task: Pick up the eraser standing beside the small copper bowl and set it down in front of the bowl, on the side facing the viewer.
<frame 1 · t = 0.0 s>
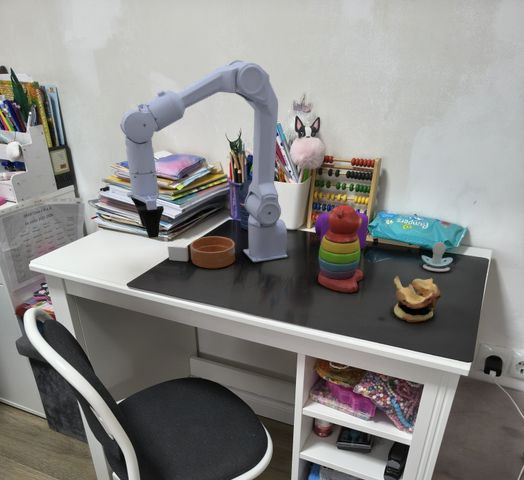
hand: (150, 231, 115), 10 cm above the table, tool pointing down, fingers open, 7 cm apart
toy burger: (411, 313, 104), on the table
bowl: (213, 261, 126), on the table
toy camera: (337, 247, 134), on the table
stacking bear: (338, 282, 117), on the table
eraser: (179, 260, 127), on the table
pacifier: (435, 268, 123), on the table
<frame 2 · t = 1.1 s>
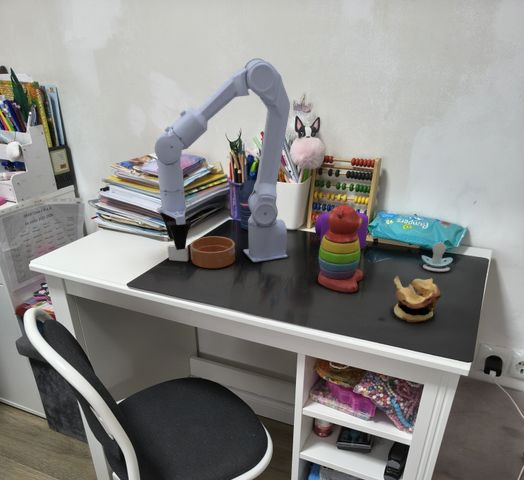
hand: (177, 243, 125), 4 cm above the table, tool pointing down, fingers open, 7 cm apart
nothing on the table moved.
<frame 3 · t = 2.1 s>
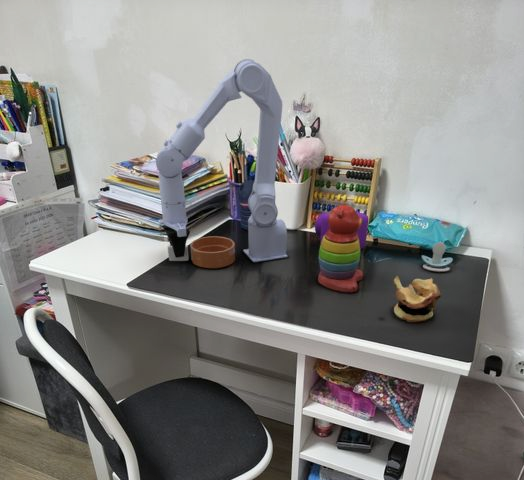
hand: (178, 254, 126), 1 cm above the table, tool pointing down, fingers closed on eraser, 2 cm apart
eraser: (179, 260, 127), on the table, touching gripper
everything else where it was.
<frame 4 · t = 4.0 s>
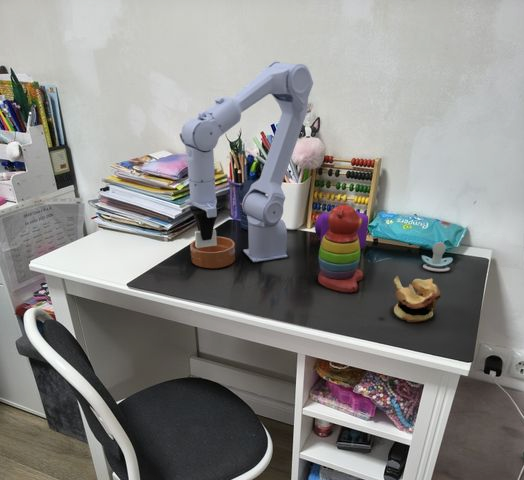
hand: (205, 238, 117), 8 cm above the table, tool pointing down, fingers closed on eraser
eraser: (206, 246, 118), point 6 cm above the table, touching gripper
everything else where it was.
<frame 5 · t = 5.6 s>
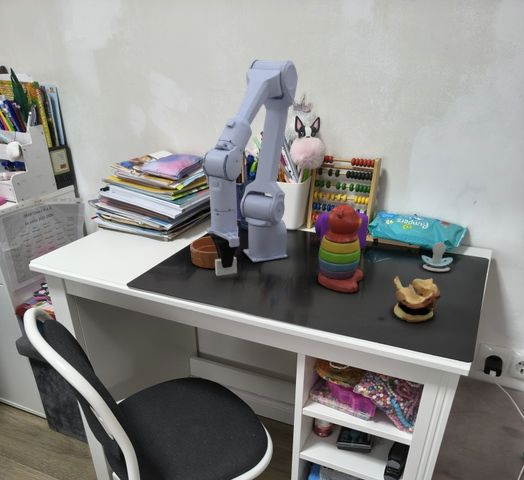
hand: (226, 265, 116), 3 cm above the table, tool pointing down, fingers closed on eraser, 1 cm apart
eraser: (226, 274, 117), point 1 cm above the table, touching gripper
everything else where it was.
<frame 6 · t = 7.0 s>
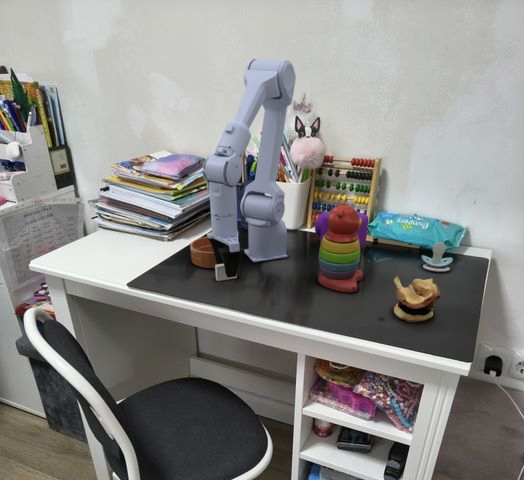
hand: (226, 270, 117), 2 cm above the table, tool pointing down, fingers open, 7 cm apart
eraser: (226, 279, 118), on the table
everything else where it was.
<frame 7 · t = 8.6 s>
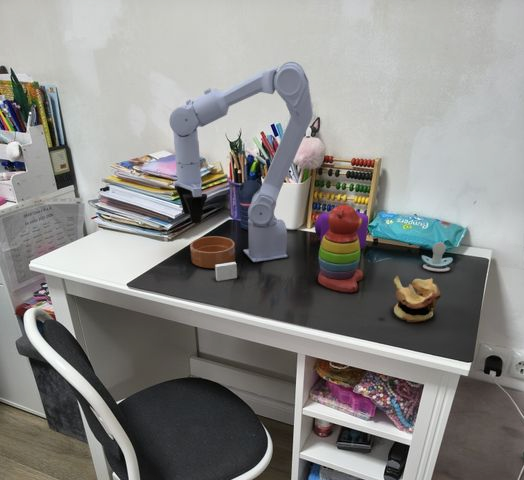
hand: (192, 217, 126), 9 cm above the table, tool pointing down, fingers open, 7 cm apart
nothing on the table moved.
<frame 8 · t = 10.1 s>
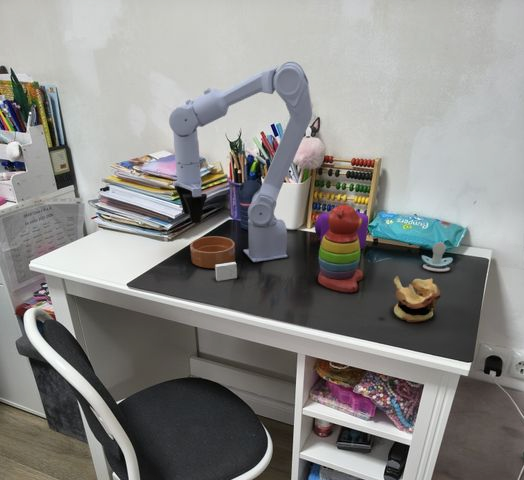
hand: (192, 217, 126), 9 cm above the table, tool pointing down, fingers open, 7 cm apart
nothing on the table moved.
at the end: eraser inside the target area on the table beside the bowl (0.3 cm from its centre), on the table; the gripper is holding nothing; eraser moved 17.0 cm from its start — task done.
